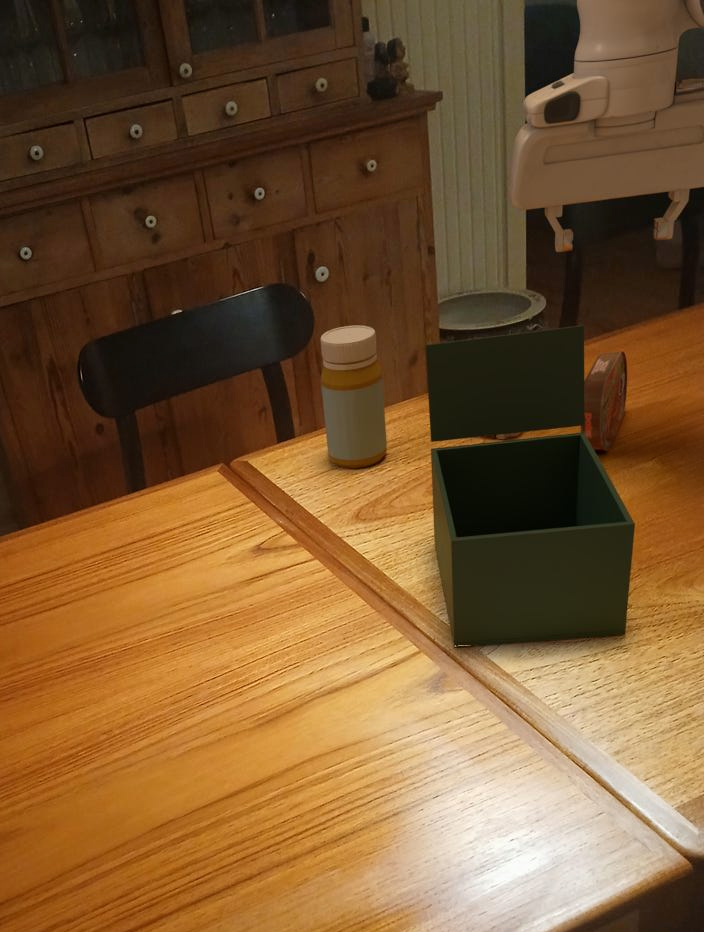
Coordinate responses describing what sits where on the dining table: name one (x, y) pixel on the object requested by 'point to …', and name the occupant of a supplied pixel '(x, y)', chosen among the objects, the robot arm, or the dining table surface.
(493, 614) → the green hinged-lid box
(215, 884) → the dining table surface
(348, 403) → the bottle
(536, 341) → the flap
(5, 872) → the dining table surface
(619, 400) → the tin
